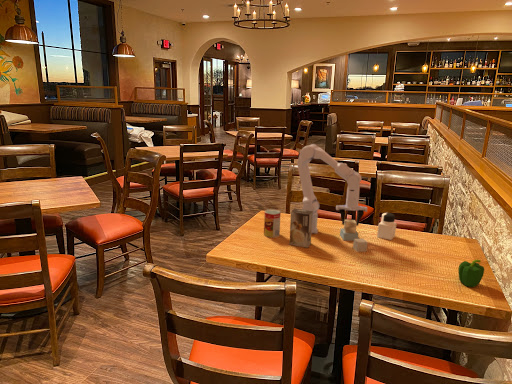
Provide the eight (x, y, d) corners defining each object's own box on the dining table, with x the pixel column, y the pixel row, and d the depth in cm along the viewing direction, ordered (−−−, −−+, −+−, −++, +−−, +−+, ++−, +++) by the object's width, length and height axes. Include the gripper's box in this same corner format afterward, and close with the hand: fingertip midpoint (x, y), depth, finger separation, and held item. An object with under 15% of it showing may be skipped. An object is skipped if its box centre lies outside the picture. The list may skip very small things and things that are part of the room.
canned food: (269, 230, 190) (270, 208, 187) (282, 234, 186) (283, 211, 183) (260, 234, 184) (261, 211, 181) (273, 238, 180) (274, 215, 177)
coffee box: (311, 243, 175) (313, 210, 171) (308, 248, 170) (310, 214, 166) (292, 240, 179) (294, 208, 175) (288, 244, 173) (290, 211, 169)
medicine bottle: (394, 236, 188) (397, 213, 185) (391, 240, 182) (394, 217, 179) (380, 233, 191) (383, 210, 188) (376, 237, 185) (379, 214, 182)
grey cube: (357, 251, 167) (358, 242, 166) (352, 247, 171) (353, 238, 170) (366, 251, 168) (367, 242, 167) (362, 247, 172) (363, 238, 171)
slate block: (343, 241, 180) (344, 233, 179) (339, 235, 187) (340, 228, 186) (357, 241, 180) (358, 233, 179) (353, 236, 187) (354, 228, 186)
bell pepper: (457, 286, 138) (462, 262, 135) (455, 277, 145) (459, 253, 143) (483, 291, 135) (488, 266, 133) (479, 281, 143) (484, 257, 140)
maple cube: (345, 232, 180) (346, 222, 179) (343, 229, 185) (344, 219, 184) (355, 233, 180) (356, 223, 178) (354, 229, 185) (354, 220, 183)
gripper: (338, 199, 175) (335, 226, 178) (369, 200, 174) (366, 228, 177) (336, 195, 182) (334, 221, 185) (366, 196, 181) (364, 223, 184)
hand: (350, 224), depth 182 cm, fingers open, 6 cm apart
